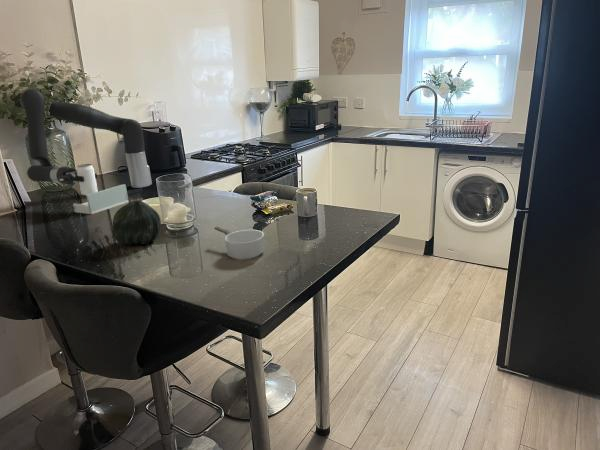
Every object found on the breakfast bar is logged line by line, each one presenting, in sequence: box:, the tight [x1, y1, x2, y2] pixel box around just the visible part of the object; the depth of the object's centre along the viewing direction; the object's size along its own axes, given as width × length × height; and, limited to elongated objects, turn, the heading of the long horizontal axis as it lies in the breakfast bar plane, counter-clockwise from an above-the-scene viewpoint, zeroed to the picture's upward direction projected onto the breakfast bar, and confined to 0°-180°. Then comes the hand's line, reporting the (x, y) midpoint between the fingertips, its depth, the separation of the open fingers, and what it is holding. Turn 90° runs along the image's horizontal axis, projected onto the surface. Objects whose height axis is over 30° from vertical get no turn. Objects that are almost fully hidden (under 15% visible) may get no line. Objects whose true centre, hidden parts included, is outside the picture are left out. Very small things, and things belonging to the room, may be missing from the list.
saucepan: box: [213, 226, 265, 260], centre depth 134 cm, size 12×20×6 cm, turn 44°
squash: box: [111, 199, 162, 245], centre depth 146 cm, size 14×15×15 cm
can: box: [76, 163, 99, 196], centre depth 188 cm, size 6×6×12 cm
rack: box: [72, 183, 130, 215], centre depth 195 cm, size 19×11×8 cm, turn 151°
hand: (89, 177), depth 187 cm, fingers closed on can, 5 cm apart
